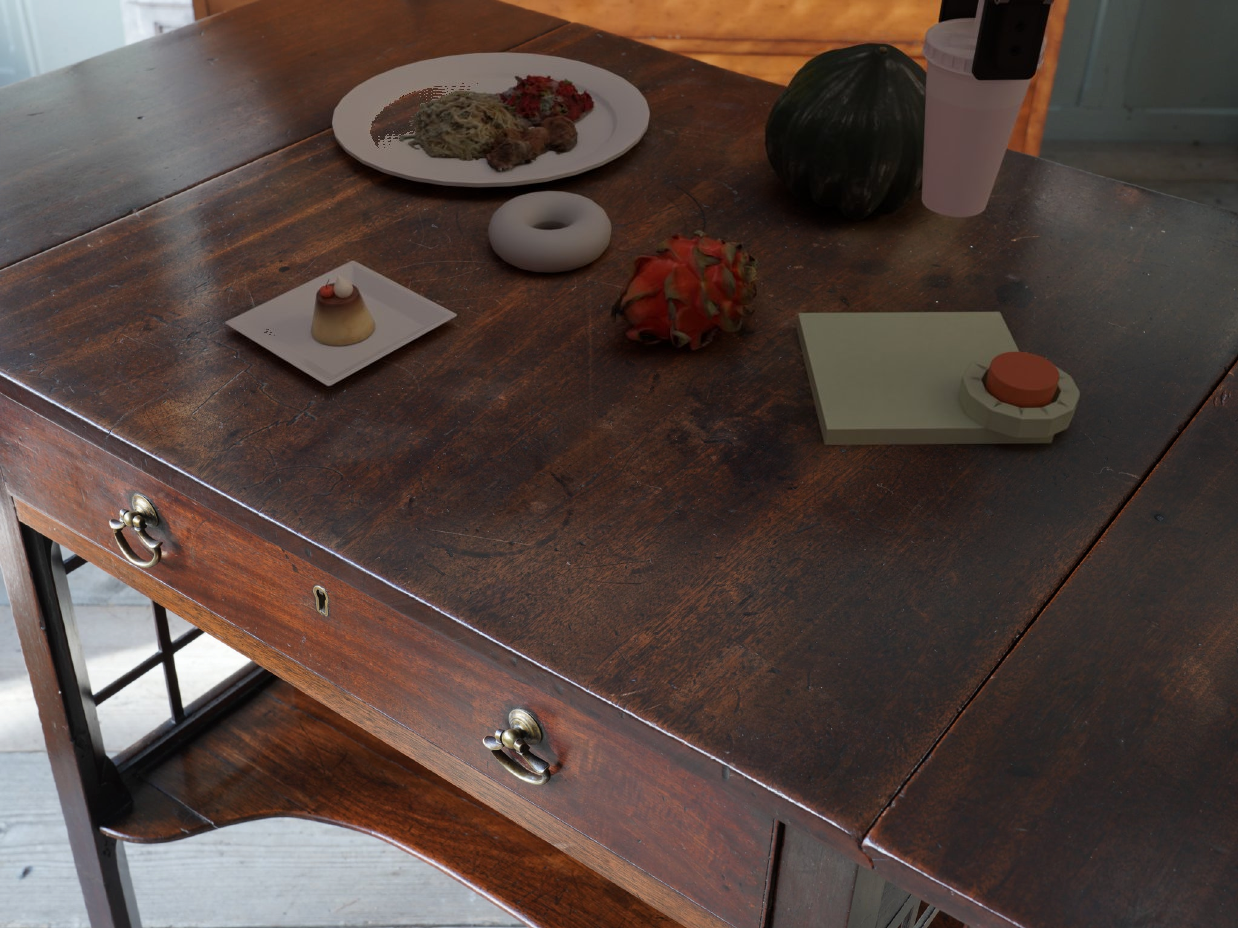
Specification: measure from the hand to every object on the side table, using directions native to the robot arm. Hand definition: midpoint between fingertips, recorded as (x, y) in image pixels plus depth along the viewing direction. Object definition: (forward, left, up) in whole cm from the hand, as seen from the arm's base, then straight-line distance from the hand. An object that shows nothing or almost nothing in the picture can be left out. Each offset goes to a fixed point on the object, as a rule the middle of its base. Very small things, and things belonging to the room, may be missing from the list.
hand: (984, 49), depth 66 cm
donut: (+25, -24, -26) cm, 43 cm away
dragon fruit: (+15, -11, -26) cm, 31 cm away
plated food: (+31, -47, -26) cm, 61 cm away
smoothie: (0, 0, -9) cm, 9 cm away
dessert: (+40, -12, -26) cm, 49 cm away
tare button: (-7, 0, -23) cm, 24 cm away
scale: (-1, -5, -25) cm, 26 cm away
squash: (-1, -33, -26) cm, 42 cm away
